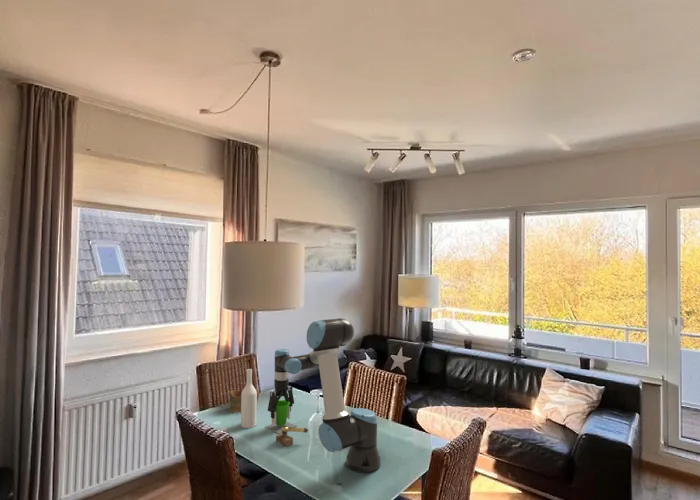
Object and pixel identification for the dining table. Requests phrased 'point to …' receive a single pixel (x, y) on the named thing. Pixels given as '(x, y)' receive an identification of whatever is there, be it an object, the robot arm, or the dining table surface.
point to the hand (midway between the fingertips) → (281, 420)
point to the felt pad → (279, 427)
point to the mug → (236, 401)
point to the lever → (293, 429)
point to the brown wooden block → (284, 439)
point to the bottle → (248, 403)
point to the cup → (281, 412)
